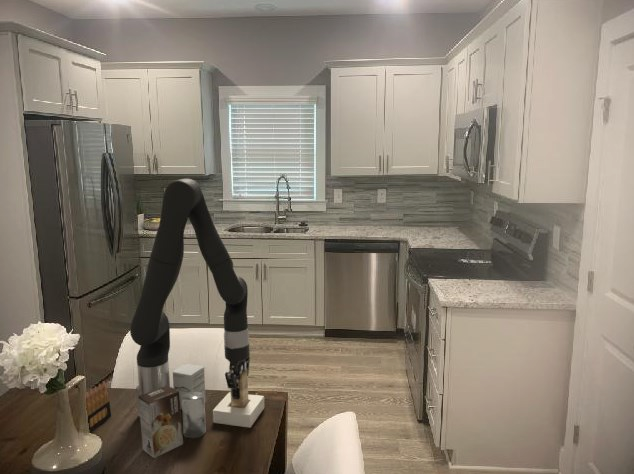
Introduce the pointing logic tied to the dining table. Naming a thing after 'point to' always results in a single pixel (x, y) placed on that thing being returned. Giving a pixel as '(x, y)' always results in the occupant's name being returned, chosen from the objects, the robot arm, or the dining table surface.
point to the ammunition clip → (97, 406)
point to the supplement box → (189, 380)
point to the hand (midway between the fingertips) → (239, 394)
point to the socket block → (238, 411)
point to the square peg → (241, 392)
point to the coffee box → (160, 420)
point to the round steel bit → (193, 415)
